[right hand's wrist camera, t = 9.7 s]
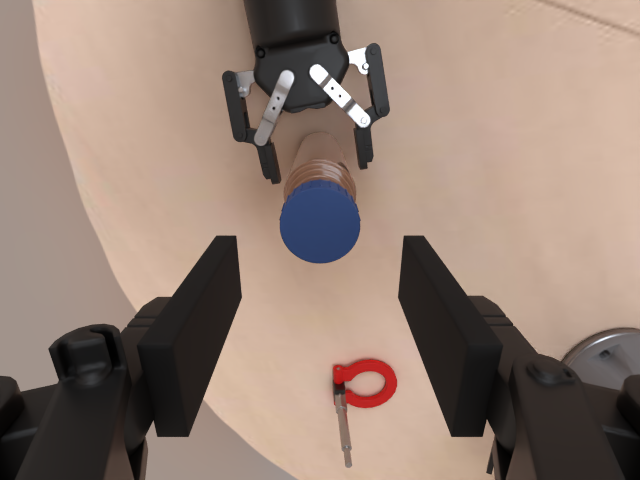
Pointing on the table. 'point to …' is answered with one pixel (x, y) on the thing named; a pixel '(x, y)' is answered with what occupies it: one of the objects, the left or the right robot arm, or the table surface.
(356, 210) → the cap
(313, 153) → the bottle
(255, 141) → the left robot arm
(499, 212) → the table surface
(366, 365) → the tow hook
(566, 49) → the table surface
